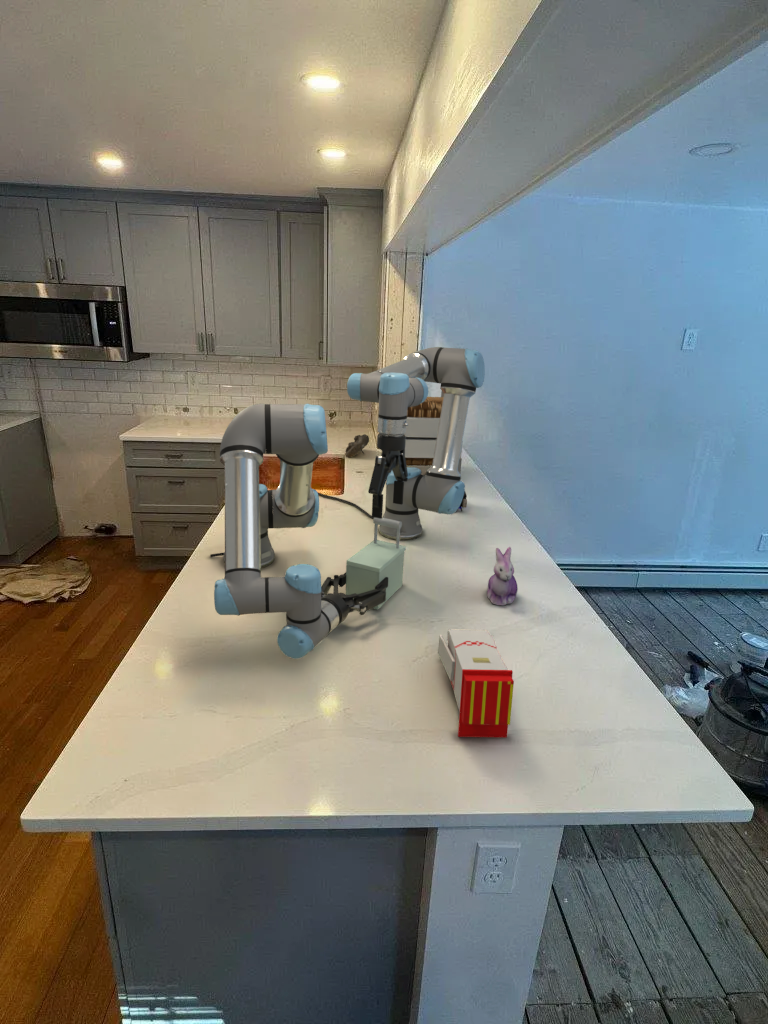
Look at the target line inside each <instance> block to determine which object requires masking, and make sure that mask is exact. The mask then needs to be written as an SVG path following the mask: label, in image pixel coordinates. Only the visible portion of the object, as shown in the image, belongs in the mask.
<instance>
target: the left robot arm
mask: <svg viewBox="0 0 768 1024" xmlns="http://www.w3.org/2000/svg"><path fill="white" fill-rule="evenodd" d="M328 447H329V445H328V434H327V423H326V411H325V409H324V407H323V406H322V405H320V404H310V403H298V404H297V403H273V404H272V403H256V404H252V405H249V406H247V407H245V408H244V409H242V410H240V411H239V413H237V414H236V415H235V416H234V417H233V418H232V420H231V421H230V422H229V423H228V425H227V426H226V429H225V431H224V432H223V435H222V438H221V442H220V448H219V461H220V463H221V464H222V465H223V466H224V552H219V553H218V552H217V553H210V554H209V556H210V558H213V557H214V558H215V557H221V556H223V563H224V577H223V578H221V579H217V580H216V581H215V583H214V589H213V592H214V593H213V600H214V601H213V602H214V603H213V605H214V609H215V612H216V613H217V614H218V615H219V616H238V617H239V616H242V615H243V616H244V615H257V614H275V613H285V616H286V617H285V618H286V620H285V621H286V623H285V624H286V625H284V626H283V627H282V628H281V630H280V631H279V632H278V634H277V638H276V643H277V646H278V648H279V650H280V652H281V653H283V654H284V655H285V656H286V657H287V658H290V659H295V660H299V659H302V658H303V657H305V656H306V655H308V654H309V653H310V652H312V651H314V649H315V648H316V647H317V646H318V645H319V644H320V643H321V642H322V641H323V640H324V639H325V638H326V637H328V636H329V634H330V633H331V632H332V631H333V630H335V629H336V628H337V627H338V626H339V625H340V624H342V623H343V622H344V620H346V618H347V617H348V615H349V614H350V613H353V612H354V611H355V612H358V614H359V615H360V616H364V615H365V614H366V613H367V612H368V611H370V610H372V609H373V608H374V607H376V606H378V605H379V604H381V603H383V602H385V601H386V588H387V587H388V577H385V578H384V579H383V580H382V581H381V582H380V583H379V584H377V585H376V586H375V589H374V590H370V591H367V592H364V593H360V594H356V593H354V594H351V595H346V593H344V592H339V588H343V587H345V586H346V572H344V573H343V574H340V575H338V574H334V575H333V578H332V577H331V576H327V577H326V578H325V580H324V582H323V583H322V576H321V575H322V574H321V571H320V570H319V569H318V567H316V566H314V565H312V564H309V563H297V564H295V565H294V564H293V565H291V566H289V567H288V568H287V569H286V570H285V574H284V576H265V577H262V568H266V567H268V566H270V565H272V563H274V561H275V559H276V557H275V550H274V548H273V547H272V546H273V545H272V543H271V540H270V537H269V529H295V528H301V529H305V528H310V527H311V528H312V527H314V526H315V525H316V524H317V522H318V519H319V512H320V495H318V493H319V492H318V490H316V489H314V488H312V480H313V479H312V478H313V469H314V462H315V461H316V460H317V459H318V458H319V457H320V456H322V455H325V454H327V453H328V452H329V448H328ZM264 455H275V456H276V457H277V459H278V460H279V486H278V487H276V489H268V487H267V486H266V485H265V484H263V483H260V466H261V465H262V464H263V463H264ZM331 587H333V589H332V590H333V591H332V593H329V591H330V590H331ZM353 598H354V600H353ZM386 602H387V601H386ZM386 602H385V603H386Z"/></svg>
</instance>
